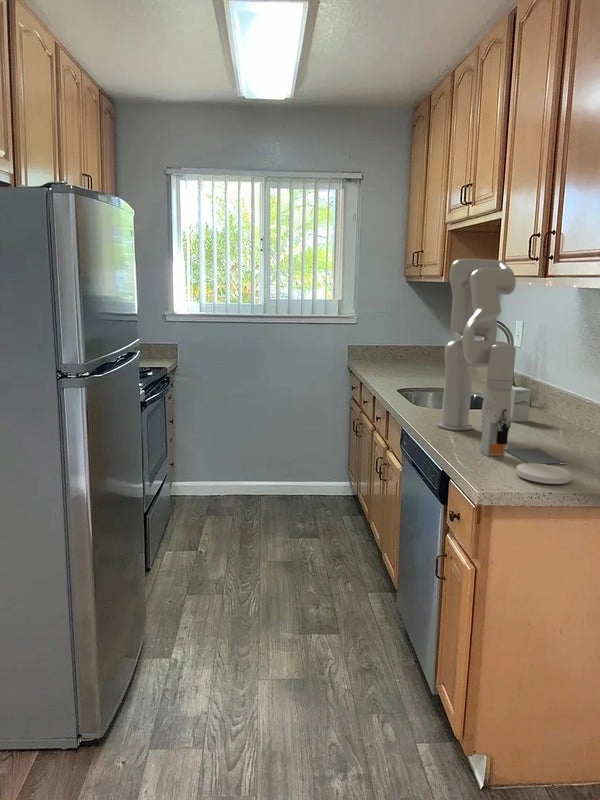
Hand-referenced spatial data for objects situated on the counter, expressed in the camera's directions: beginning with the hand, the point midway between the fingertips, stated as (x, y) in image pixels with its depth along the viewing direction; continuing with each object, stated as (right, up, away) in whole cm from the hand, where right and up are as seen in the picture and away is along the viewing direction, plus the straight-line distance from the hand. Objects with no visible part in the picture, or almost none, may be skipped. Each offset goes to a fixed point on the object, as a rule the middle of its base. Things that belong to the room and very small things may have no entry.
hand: (493, 439), depth 196 cm
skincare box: (0, -5, +1) cm, 5 cm away
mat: (+12, -5, 0) cm, 13 cm away
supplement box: (+24, +4, +53) cm, 59 cm away
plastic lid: (+7, -10, -21) cm, 24 cm away
